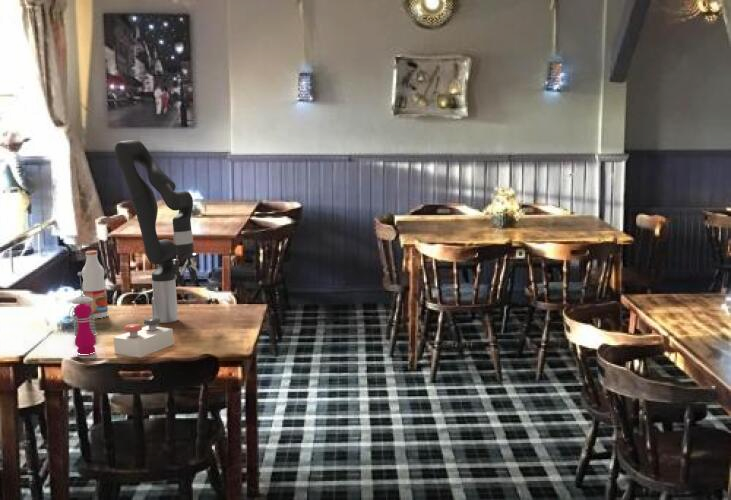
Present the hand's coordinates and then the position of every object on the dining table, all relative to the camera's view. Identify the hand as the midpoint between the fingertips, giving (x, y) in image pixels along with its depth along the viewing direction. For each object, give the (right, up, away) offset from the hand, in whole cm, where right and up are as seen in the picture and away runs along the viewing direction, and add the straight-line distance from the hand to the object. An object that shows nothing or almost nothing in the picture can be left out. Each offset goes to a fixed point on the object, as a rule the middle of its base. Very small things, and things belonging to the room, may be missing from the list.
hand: (187, 282), depth 375 cm
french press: (-39, -21, -8) cm, 45 cm away
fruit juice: (-42, -15, +21) cm, 49 cm away
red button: (-13, -20, -35) cm, 42 cm away
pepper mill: (-30, -25, -33) cm, 51 cm away
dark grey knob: (-8, -18, -27) cm, 33 cm away
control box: (-10, -23, -30) cm, 39 cm away
